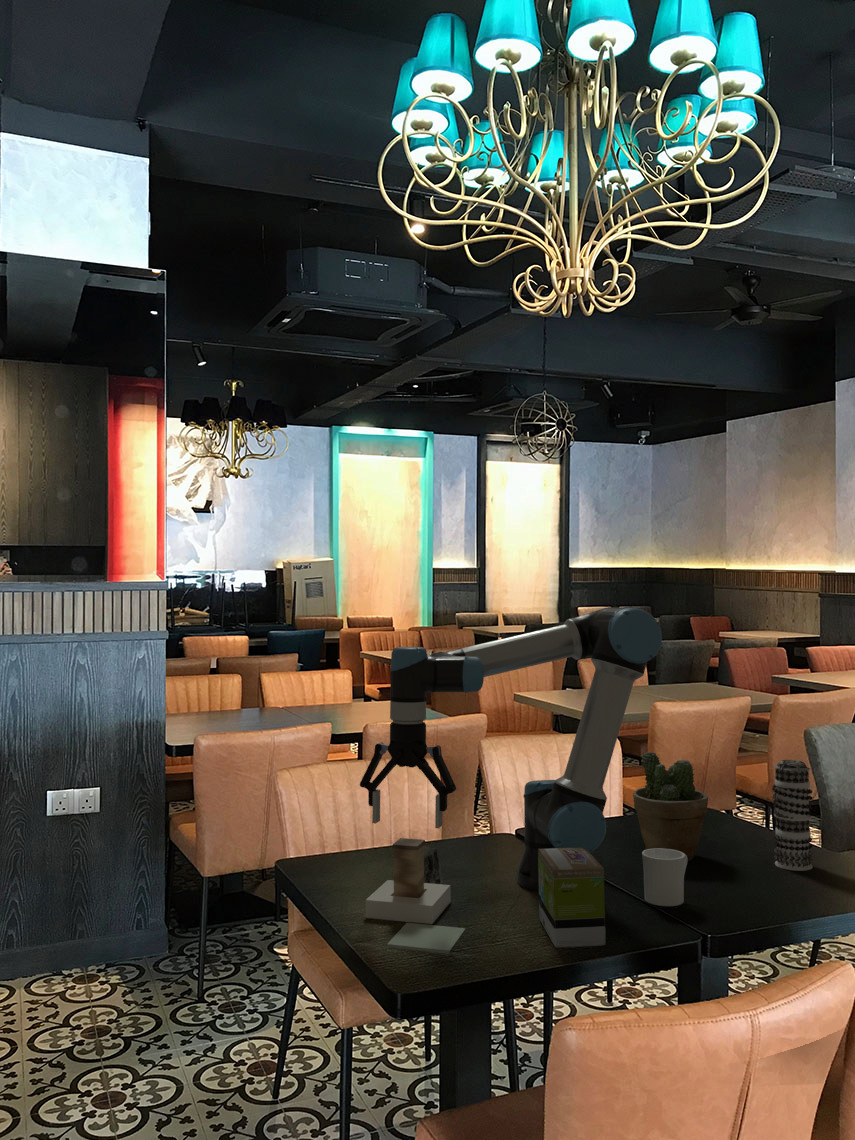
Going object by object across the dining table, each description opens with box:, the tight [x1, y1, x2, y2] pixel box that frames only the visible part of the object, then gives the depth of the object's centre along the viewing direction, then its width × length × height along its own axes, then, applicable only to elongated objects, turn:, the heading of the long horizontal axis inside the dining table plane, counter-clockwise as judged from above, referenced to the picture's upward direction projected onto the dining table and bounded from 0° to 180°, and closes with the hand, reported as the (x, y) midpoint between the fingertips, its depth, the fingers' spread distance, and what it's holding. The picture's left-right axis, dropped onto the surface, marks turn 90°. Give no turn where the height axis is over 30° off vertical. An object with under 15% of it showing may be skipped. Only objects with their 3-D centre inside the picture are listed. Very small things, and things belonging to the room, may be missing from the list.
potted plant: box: [632, 751, 709, 862], centre depth 235 cm, size 18×19×25 cm
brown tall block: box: [391, 837, 426, 898], centre depth 194 cm, size 5×5×14 cm
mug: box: [641, 848, 689, 909], centre depth 200 cm, size 11×9×10 cm
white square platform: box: [365, 879, 452, 925], centre depth 194 cm, size 14×14×4 cm
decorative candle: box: [771, 759, 814, 872], centre depth 226 cm, size 9×9×25 cm
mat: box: [386, 922, 467, 955], centre depth 178 cm, size 12×12×1 cm
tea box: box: [538, 847, 606, 948], centre depth 181 cm, size 15×10×15 cm, turn 5°
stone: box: [424, 845, 443, 885], centre depth 212 cm, size 10×10×10 cm
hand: (407, 824), depth 194 cm, fingers open, 13 cm apart
